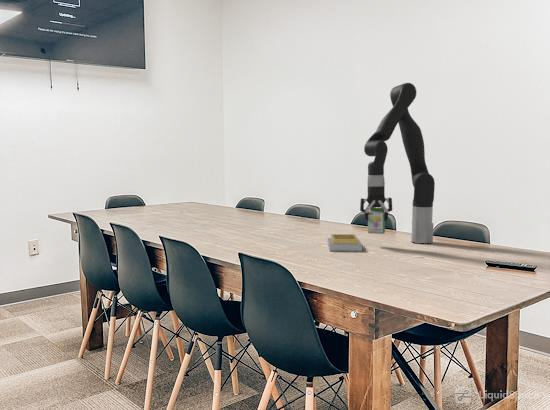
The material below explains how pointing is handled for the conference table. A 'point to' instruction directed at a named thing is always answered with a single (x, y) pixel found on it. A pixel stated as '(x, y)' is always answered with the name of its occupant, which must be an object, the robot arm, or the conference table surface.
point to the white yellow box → (344, 242)
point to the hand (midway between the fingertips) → (376, 220)
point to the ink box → (376, 221)
